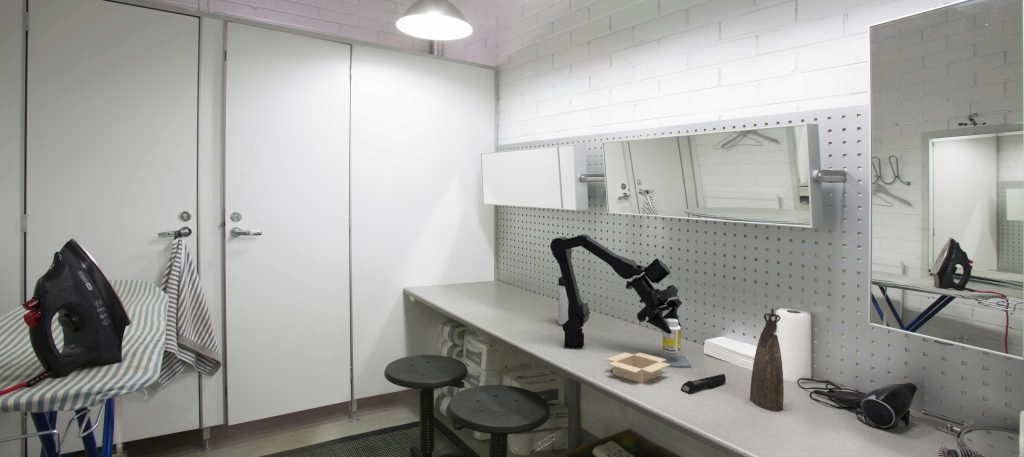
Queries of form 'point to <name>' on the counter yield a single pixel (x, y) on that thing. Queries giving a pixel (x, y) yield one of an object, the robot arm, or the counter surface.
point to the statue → (768, 368)
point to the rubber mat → (675, 361)
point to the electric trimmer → (703, 383)
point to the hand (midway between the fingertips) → (675, 331)
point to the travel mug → (562, 303)
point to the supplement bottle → (672, 337)
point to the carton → (637, 366)
